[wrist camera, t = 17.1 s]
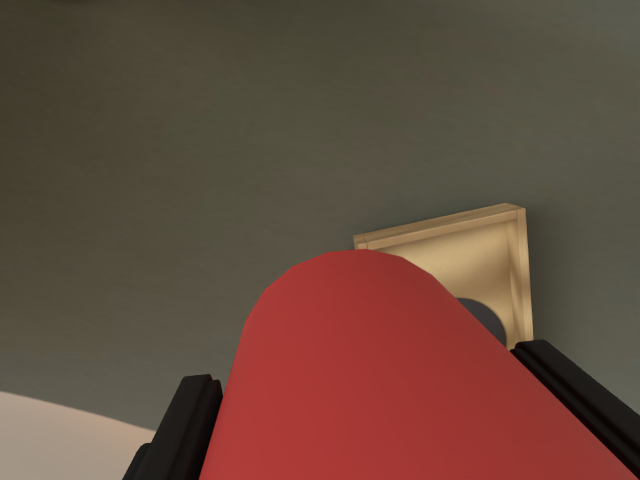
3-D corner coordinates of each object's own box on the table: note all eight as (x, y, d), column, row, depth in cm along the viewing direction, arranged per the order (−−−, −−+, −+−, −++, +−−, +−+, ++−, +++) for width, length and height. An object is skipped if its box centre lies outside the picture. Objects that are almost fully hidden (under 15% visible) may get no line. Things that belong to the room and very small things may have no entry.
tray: (352, 235, 26) (374, 273, 19) (506, 202, 27) (588, 227, 19) (395, 462, 32) (425, 561, 24) (523, 434, 32) (593, 524, 24)
